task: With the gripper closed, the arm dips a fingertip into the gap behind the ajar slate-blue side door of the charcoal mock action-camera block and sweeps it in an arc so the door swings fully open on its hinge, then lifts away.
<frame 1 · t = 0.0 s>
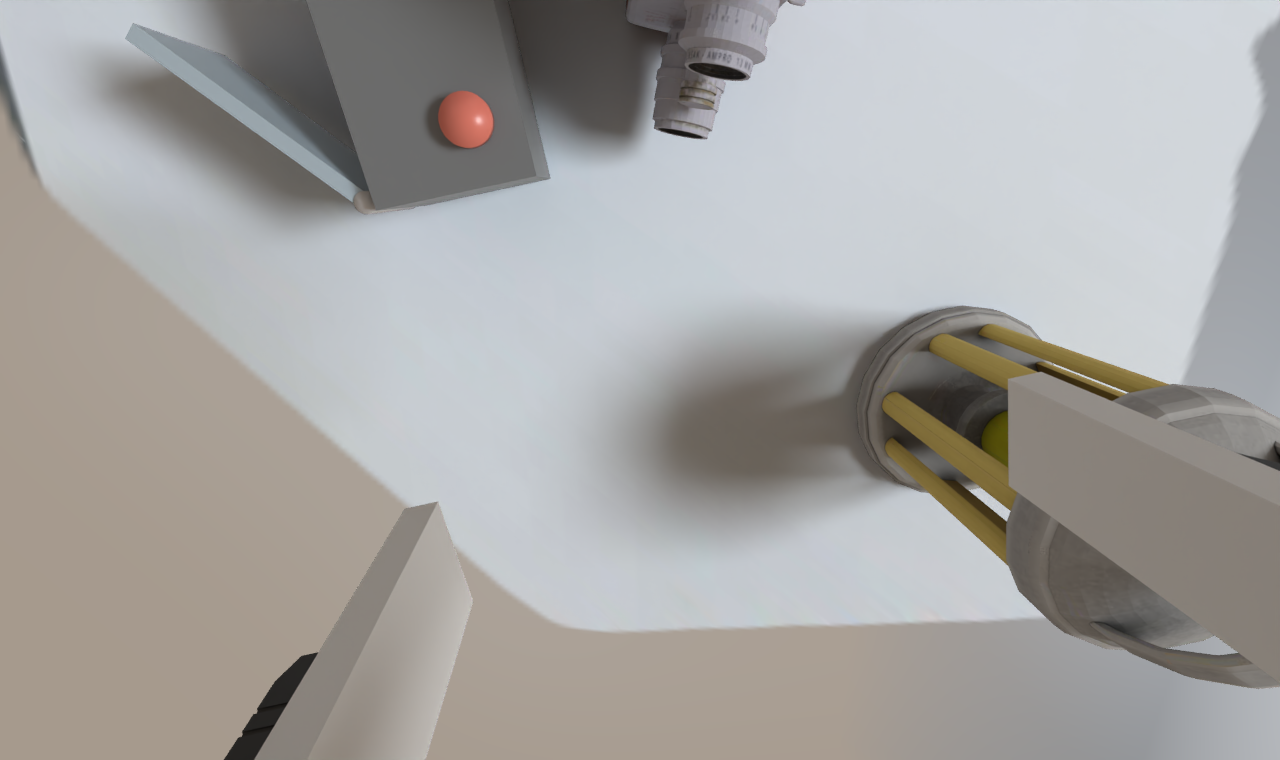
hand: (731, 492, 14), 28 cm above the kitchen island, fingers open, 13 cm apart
side door: (292, 134, 32), point 5 cm above the kitchen island, hinge at 40.0°
lantern: (948, 399, 44), on the kitchen island
camera block: (455, 70, 35), on the kitchen island
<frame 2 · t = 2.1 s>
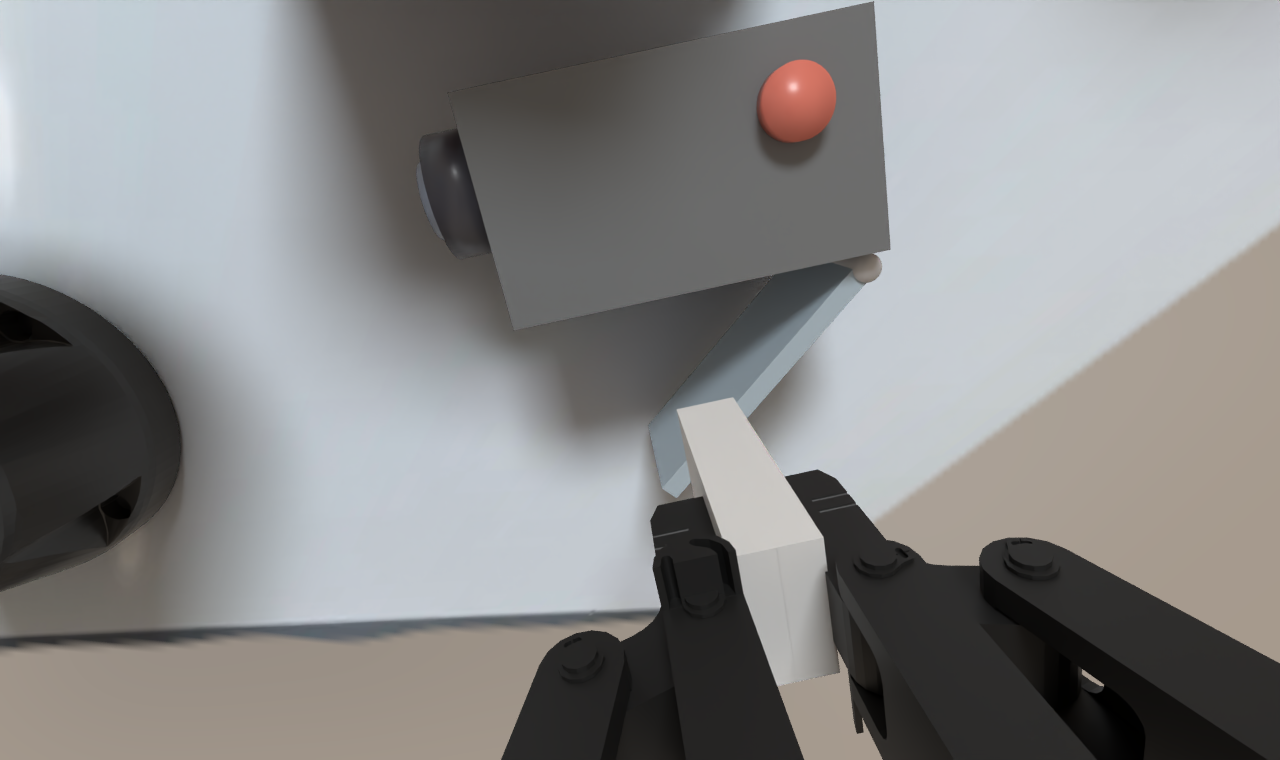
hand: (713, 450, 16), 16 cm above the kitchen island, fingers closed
side door: (749, 359, 27), point 5 cm above the kitchen island, hinge at 40.0°
camera block: (657, 179, 29), on the kitchen island
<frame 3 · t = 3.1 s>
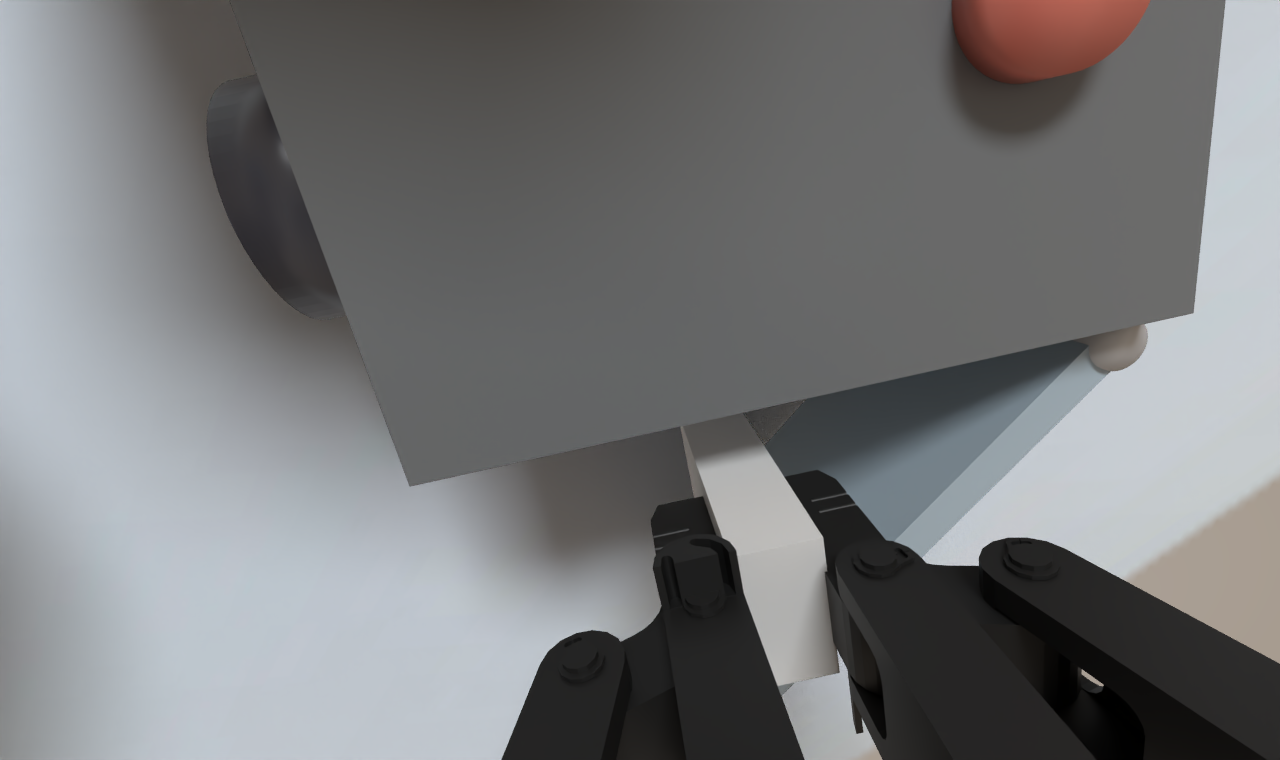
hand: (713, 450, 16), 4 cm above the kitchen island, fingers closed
side door: (846, 477, 16), point 4 cm above the kitchen island, hinge at 40.0°
camera block: (685, 170, 18), on the kitchen island
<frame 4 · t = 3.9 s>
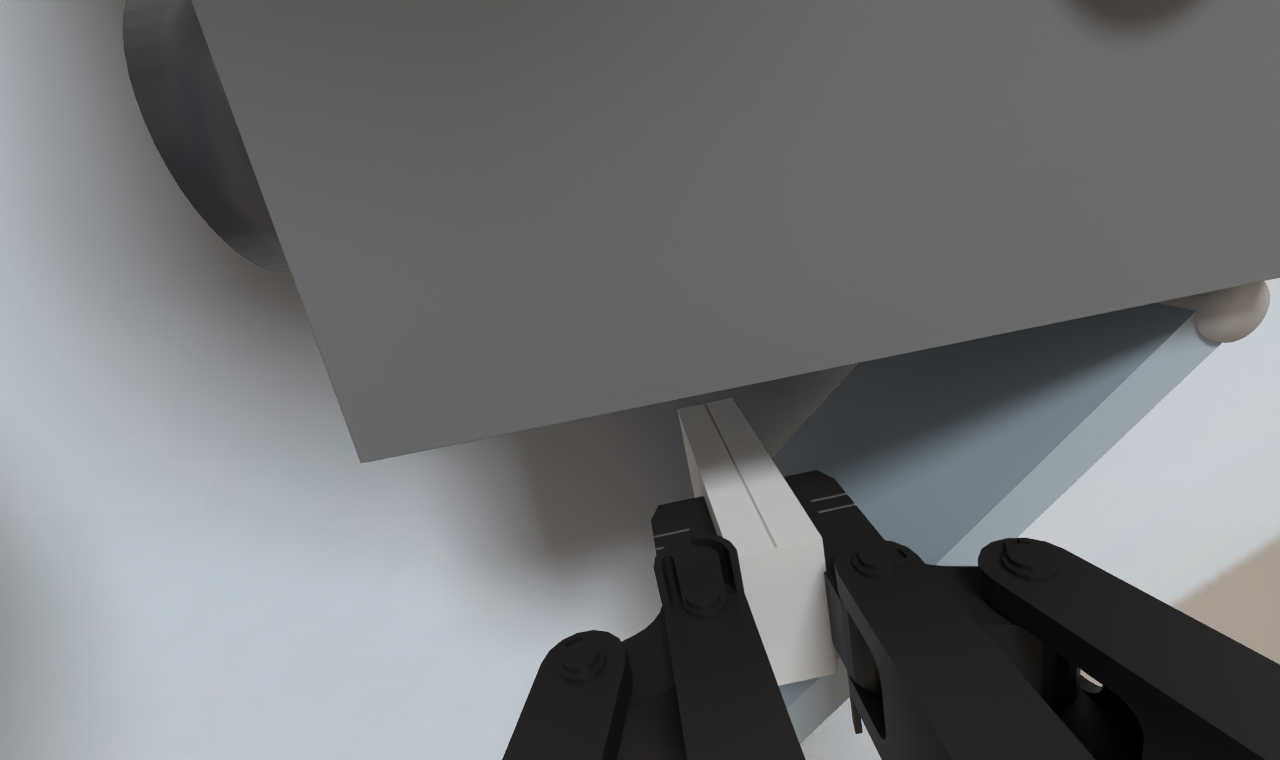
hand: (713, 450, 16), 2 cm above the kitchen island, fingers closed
side door: (885, 475, 14), point 5 cm above the kitchen island, hinge at 40.5°, touching gripper
camera block: (702, 128, 16), on the kitchen island
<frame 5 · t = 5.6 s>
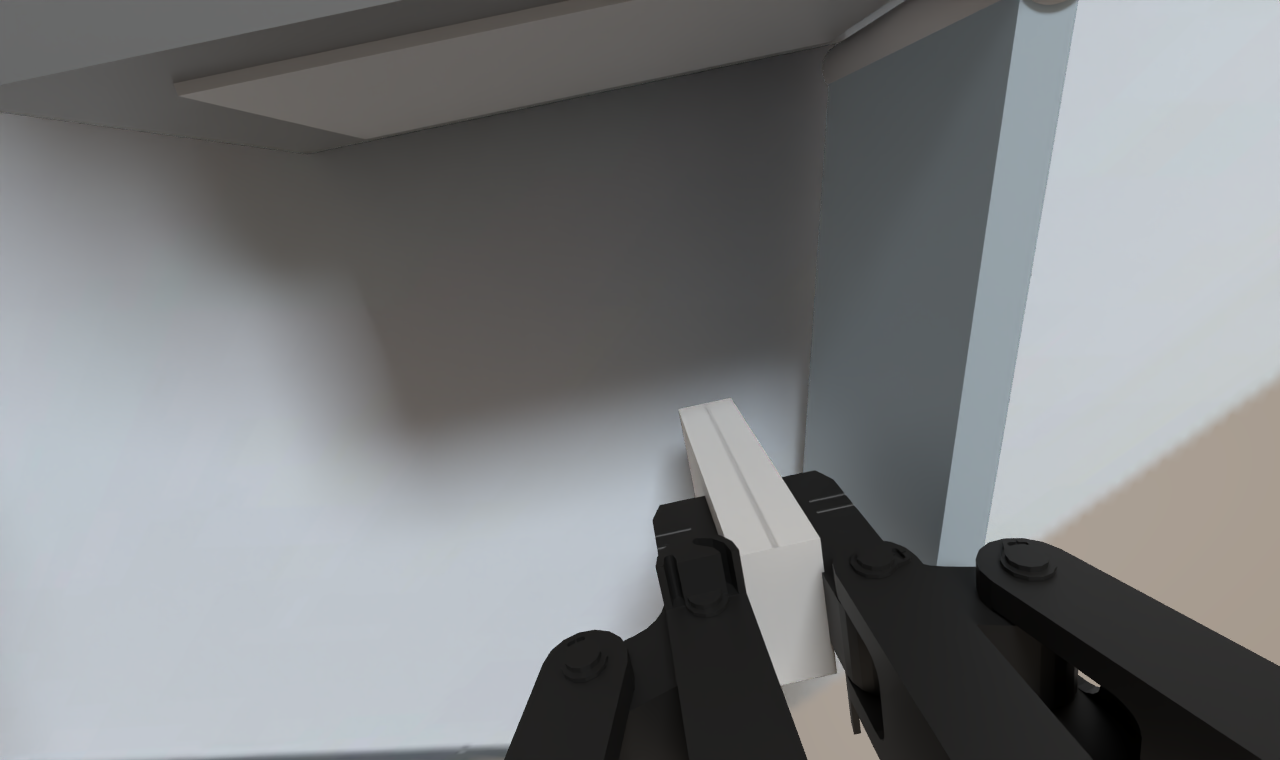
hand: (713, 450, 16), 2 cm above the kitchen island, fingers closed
side door: (895, 331, 13), point 5 cm above the kitchen island, hinge at 80.0°, touching gripper
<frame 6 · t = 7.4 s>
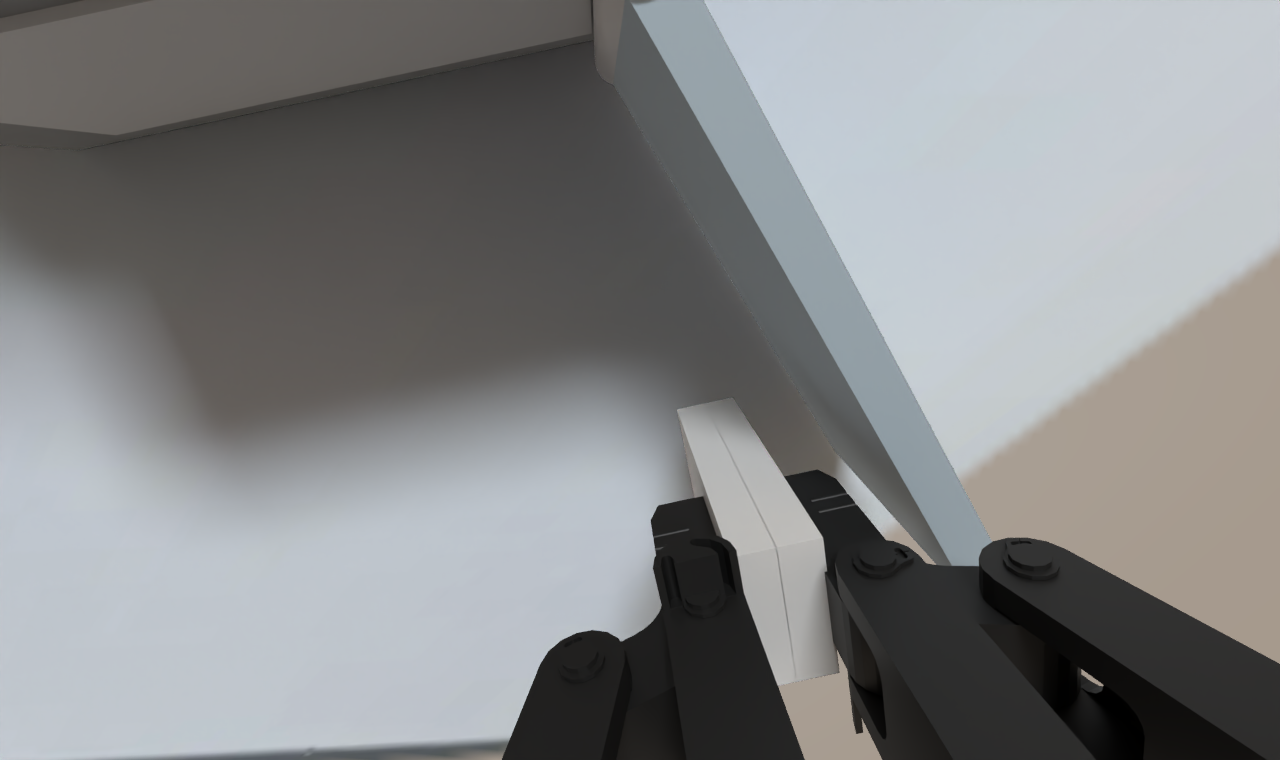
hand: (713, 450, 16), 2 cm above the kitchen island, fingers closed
side door: (784, 279, 12), point 4 cm above the kitchen island, hinge at 111.8°
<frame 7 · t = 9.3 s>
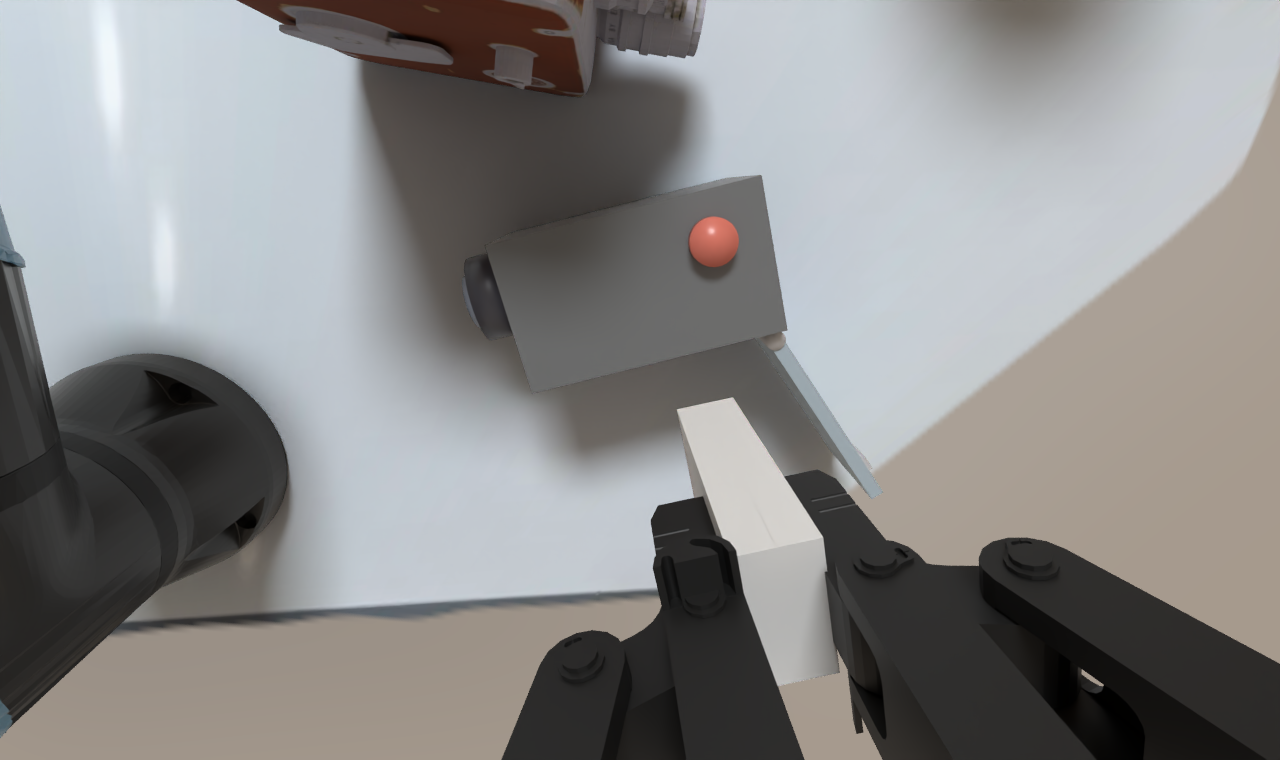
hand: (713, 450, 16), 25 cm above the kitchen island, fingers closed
cine camera: (521, 26, 35), on the kitchen island
side door: (809, 396, 38), point 5 cm above the kitchen island, hinge at 111.8°
camera block: (633, 267, 39), on the kitchen island
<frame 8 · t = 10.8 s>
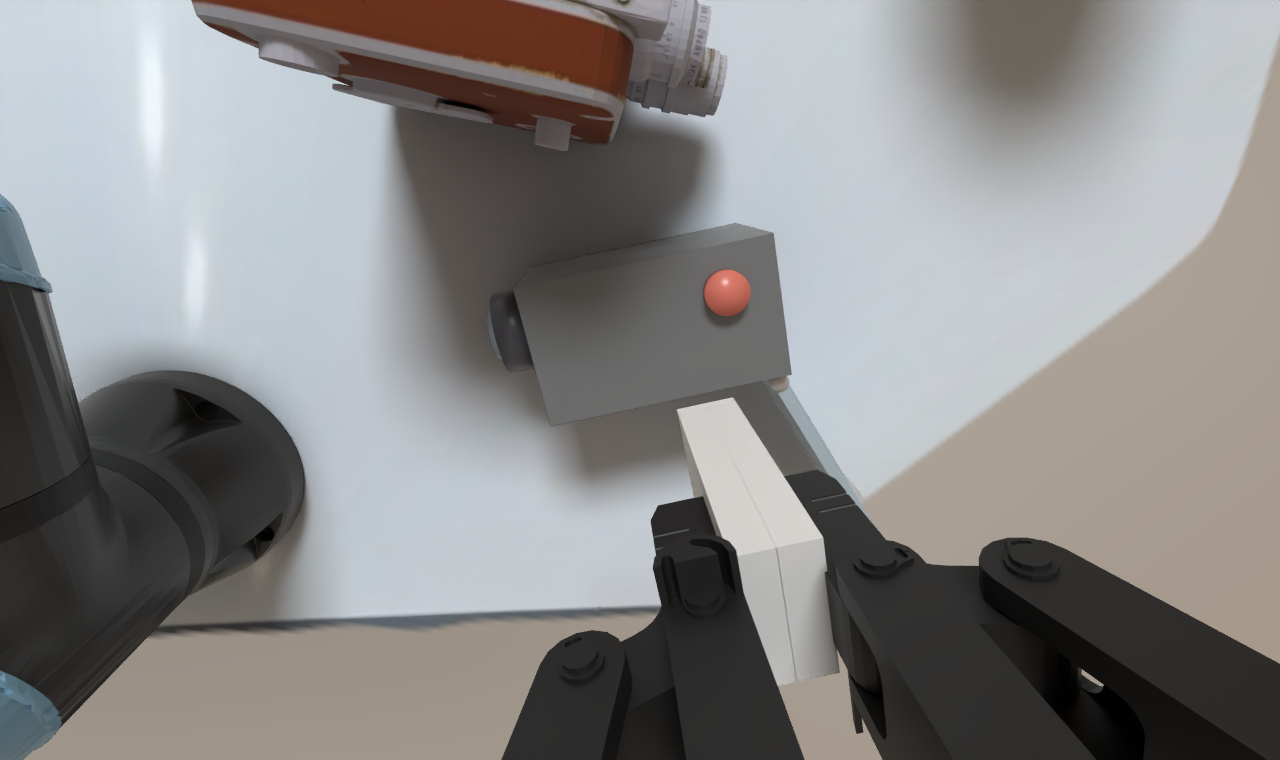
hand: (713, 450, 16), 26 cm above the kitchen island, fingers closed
cine camera: (549, 76, 37), on the kitchen island
side door: (807, 431, 40), point 5 cm above the kitchen island, hinge at 111.8°
camera block: (645, 303, 41), on the kitchen island
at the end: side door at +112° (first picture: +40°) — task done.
